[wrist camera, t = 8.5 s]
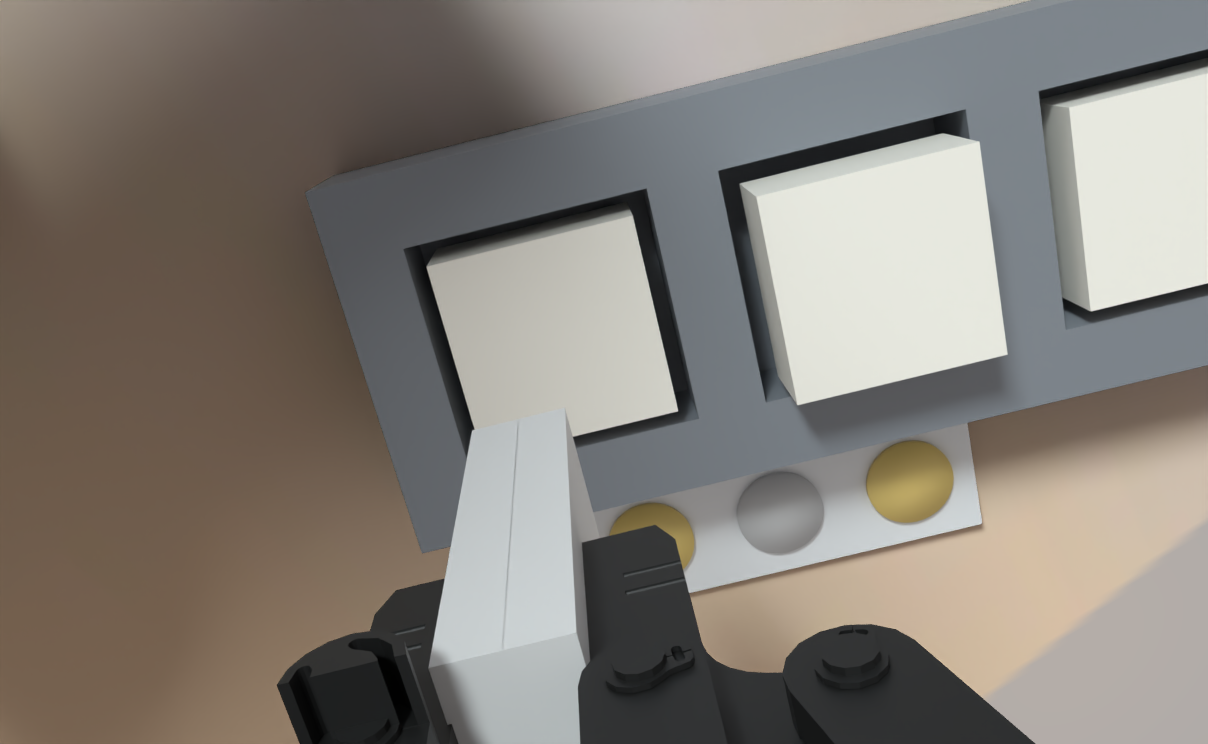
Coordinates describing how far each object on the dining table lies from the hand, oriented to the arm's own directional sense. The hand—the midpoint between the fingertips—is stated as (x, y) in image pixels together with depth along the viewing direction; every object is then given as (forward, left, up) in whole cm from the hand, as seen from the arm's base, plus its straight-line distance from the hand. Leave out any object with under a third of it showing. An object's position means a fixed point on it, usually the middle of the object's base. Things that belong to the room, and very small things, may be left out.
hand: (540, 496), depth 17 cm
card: (+5, -8, -14) cm, 17 cm away
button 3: (+16, 0, -13) cm, 21 cm away
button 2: (+8, 0, -11) cm, 14 cm away
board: (+8, 0, -14) cm, 16 cm away
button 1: (0, 0, -13) cm, 13 cm away
